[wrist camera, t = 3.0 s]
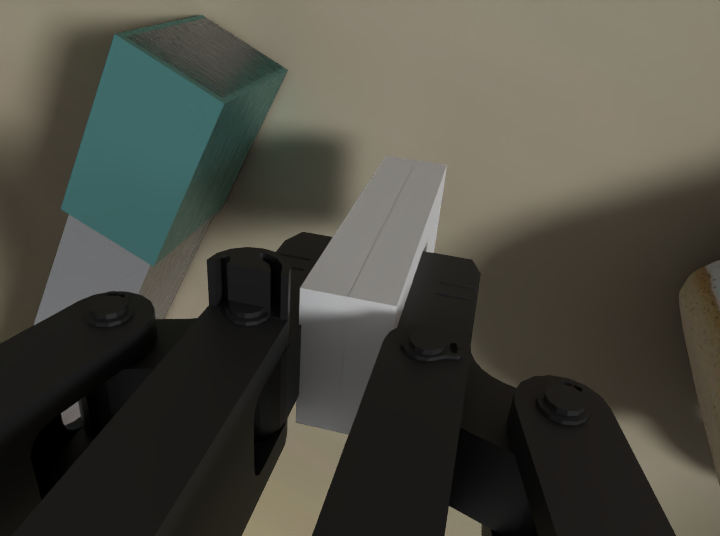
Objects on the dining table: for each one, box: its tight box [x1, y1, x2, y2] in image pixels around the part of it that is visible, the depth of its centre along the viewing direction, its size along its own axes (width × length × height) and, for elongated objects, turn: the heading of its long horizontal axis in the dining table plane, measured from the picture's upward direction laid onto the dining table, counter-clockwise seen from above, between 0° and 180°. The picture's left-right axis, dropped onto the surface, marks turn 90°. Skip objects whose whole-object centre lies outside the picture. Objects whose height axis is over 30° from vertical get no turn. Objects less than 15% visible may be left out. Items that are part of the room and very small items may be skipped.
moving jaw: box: [33, 15, 288, 425], centre depth 21 cm, size 27×7×6 cm, turn 151°
